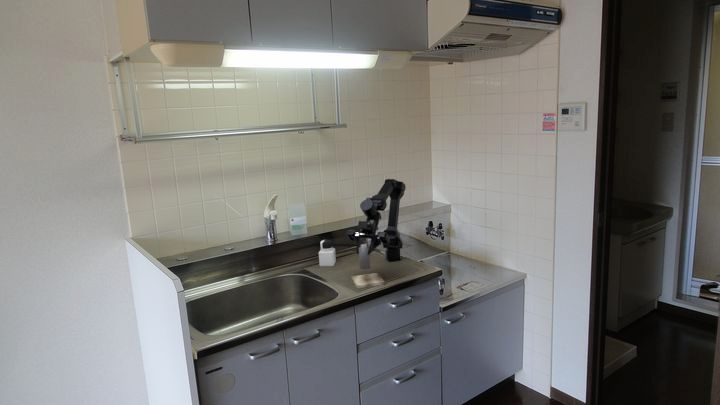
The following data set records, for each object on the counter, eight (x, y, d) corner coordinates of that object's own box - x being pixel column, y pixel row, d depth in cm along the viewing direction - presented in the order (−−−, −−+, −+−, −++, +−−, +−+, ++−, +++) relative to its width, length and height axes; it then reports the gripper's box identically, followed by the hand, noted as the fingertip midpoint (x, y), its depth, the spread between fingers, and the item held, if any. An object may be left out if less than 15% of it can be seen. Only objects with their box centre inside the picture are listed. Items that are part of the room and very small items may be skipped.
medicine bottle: (336, 261, 233) (334, 238, 231) (333, 266, 227) (332, 242, 224) (322, 261, 234) (320, 238, 232) (319, 266, 227) (317, 242, 225)
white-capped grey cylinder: (362, 265, 204) (361, 243, 202) (372, 266, 202) (370, 243, 200) (357, 269, 200) (356, 246, 198) (367, 270, 198) (366, 246, 196)
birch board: (377, 275, 211) (376, 272, 210) (384, 284, 199) (384, 281, 199) (351, 279, 208) (351, 276, 208) (357, 288, 196) (357, 285, 196)
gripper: (346, 211, 204) (336, 243, 196) (386, 213, 196) (377, 246, 189) (355, 225, 213) (345, 255, 205) (393, 227, 205) (385, 259, 197)
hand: (362, 254), depth 199 cm, fingers closed on white-capped grey cylinder, 5 cm apart
